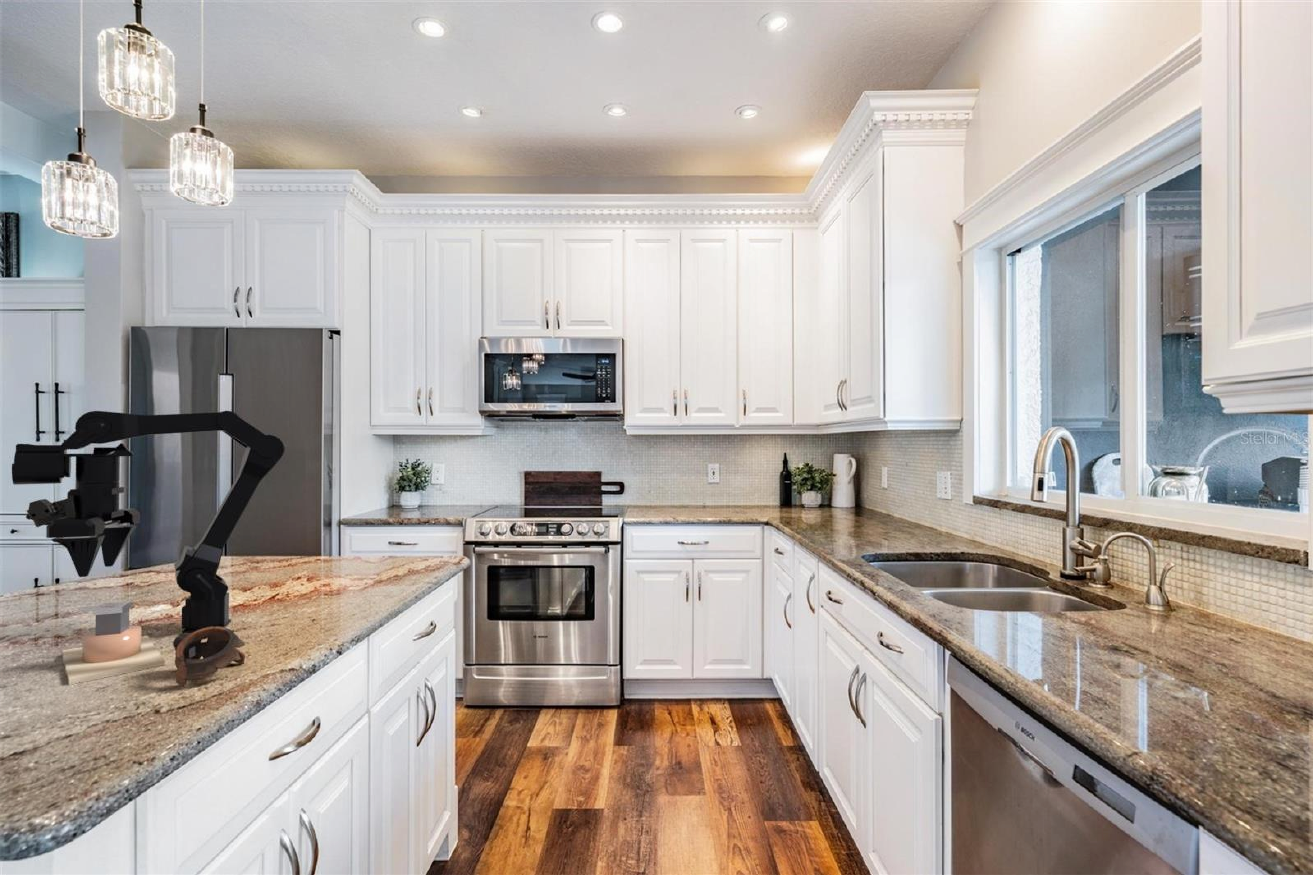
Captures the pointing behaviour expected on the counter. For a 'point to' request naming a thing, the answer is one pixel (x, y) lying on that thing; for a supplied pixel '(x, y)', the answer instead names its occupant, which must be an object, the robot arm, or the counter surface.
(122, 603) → the pump head
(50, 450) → the robot arm
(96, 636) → the pump jar
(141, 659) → the birch board
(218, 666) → the brown ring stand
